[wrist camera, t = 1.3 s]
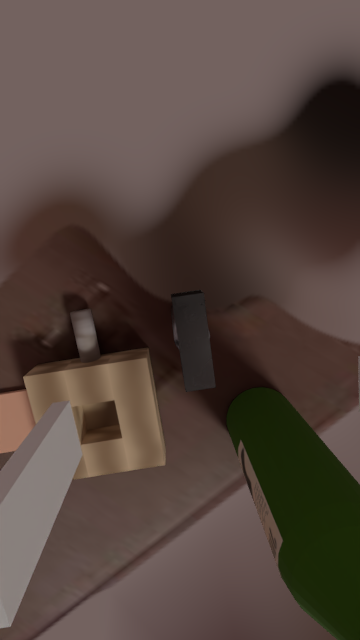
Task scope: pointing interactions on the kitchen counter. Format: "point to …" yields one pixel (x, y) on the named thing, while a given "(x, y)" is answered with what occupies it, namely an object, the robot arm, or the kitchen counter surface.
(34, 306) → the kitchen counter surface
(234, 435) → the wine bottle
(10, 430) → the mat
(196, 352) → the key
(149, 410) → the jig
